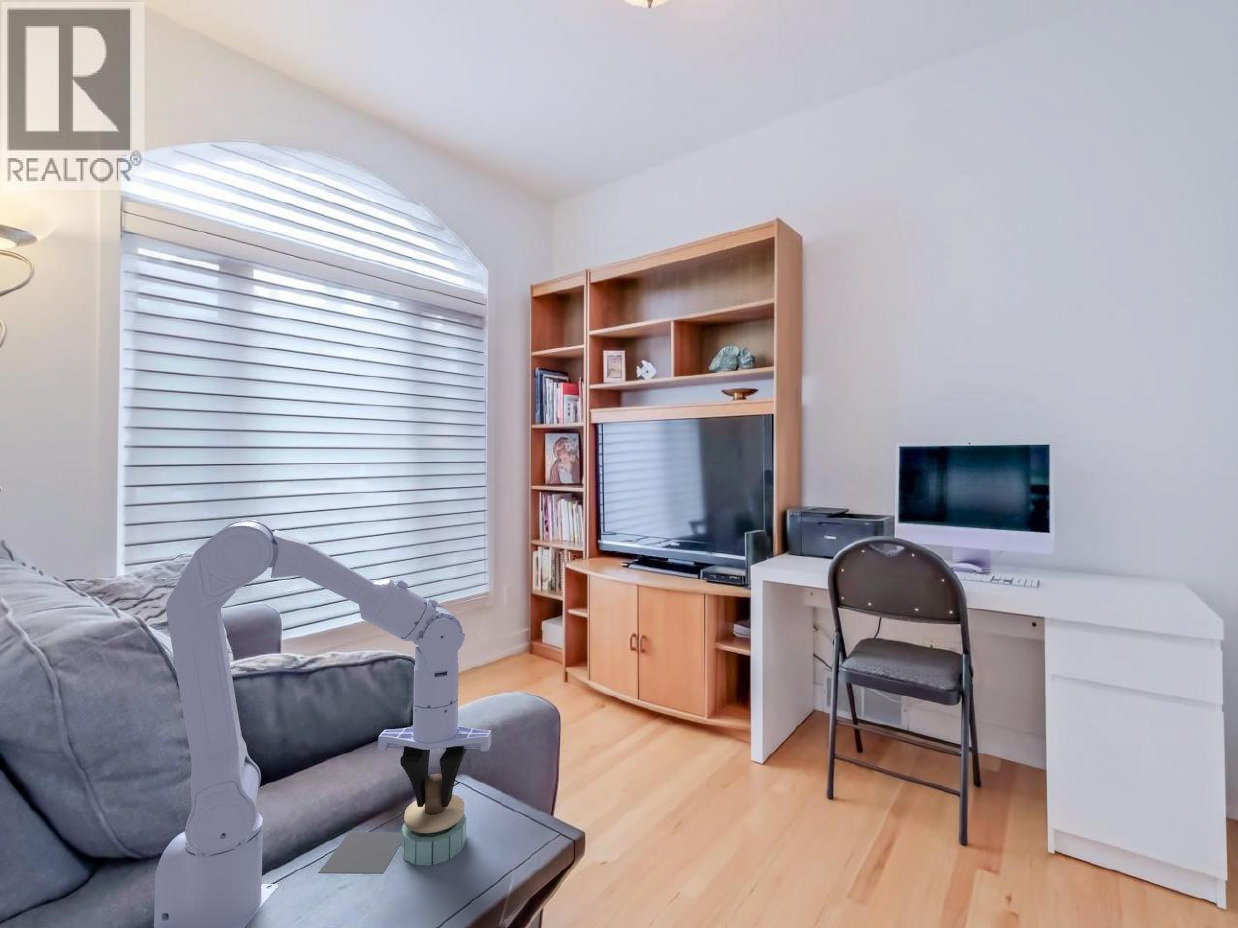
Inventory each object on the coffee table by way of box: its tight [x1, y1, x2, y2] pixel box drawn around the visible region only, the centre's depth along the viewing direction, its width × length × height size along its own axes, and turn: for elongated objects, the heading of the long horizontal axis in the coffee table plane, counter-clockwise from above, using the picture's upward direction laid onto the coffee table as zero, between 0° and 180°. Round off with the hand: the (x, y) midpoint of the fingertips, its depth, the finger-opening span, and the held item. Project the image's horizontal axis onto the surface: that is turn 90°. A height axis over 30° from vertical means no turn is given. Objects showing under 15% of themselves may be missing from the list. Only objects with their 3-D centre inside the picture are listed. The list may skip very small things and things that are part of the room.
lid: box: [403, 773, 465, 833], centre depth 75 cm, size 8×8×5 cm
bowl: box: [400, 813, 467, 866], centre depth 75 cm, size 8×8×3 cm
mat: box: [318, 831, 402, 874], centre depth 74 cm, size 8×8×1 cm
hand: (434, 802), depth 75 cm, fingers closed on lid, 3 cm apart
